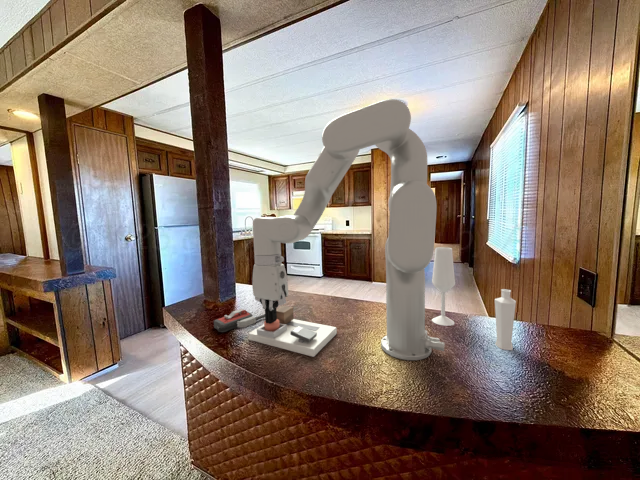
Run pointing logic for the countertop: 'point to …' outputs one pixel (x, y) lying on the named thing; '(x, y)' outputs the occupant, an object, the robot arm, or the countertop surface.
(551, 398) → the countertop surface
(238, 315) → the gray red lever tool
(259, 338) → the control panel
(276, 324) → the push button
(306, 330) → the rocker switch
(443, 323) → the champagne flute
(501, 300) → the perfume bottle
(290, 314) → the slider knob
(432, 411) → the countertop surface
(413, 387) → the countertop surface
